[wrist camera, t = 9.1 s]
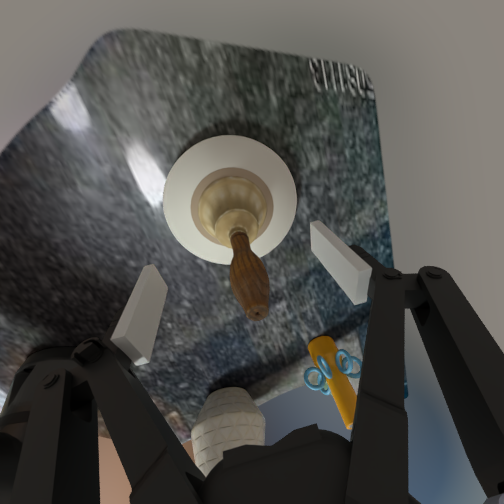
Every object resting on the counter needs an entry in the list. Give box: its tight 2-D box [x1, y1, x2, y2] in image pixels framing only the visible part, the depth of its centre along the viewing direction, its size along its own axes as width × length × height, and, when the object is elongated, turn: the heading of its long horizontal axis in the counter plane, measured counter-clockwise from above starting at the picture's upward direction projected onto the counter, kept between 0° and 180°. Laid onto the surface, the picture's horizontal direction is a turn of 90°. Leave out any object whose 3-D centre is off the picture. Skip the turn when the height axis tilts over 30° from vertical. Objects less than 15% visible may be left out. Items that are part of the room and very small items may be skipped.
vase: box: [191, 387, 265, 477], centre depth 45 cm, size 17×17×23 cm
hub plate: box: [163, 135, 297, 264], centre depth 25 cm, size 16×16×2 cm
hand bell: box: [198, 176, 269, 321], centre depth 18 cm, size 8×8×16 cm
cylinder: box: [304, 336, 362, 429], centre depth 40 cm, size 12×10×15 cm
